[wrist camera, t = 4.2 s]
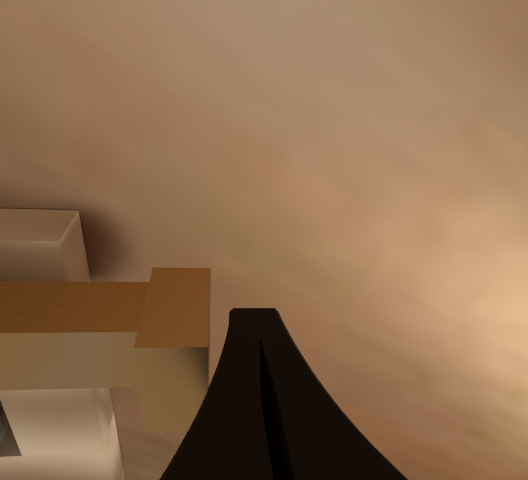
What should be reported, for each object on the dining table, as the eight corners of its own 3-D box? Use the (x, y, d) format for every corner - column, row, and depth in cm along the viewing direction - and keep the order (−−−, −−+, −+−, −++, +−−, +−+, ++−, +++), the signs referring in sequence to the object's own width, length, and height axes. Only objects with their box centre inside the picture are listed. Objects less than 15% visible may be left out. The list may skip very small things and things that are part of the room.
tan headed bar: (209, 344, 13) (207, 430, 11) (-122, 348, 12) (-214, 445, 9) (211, 268, 12) (208, 346, 9) (-170, 263, 10) (-296, 353, 8)
